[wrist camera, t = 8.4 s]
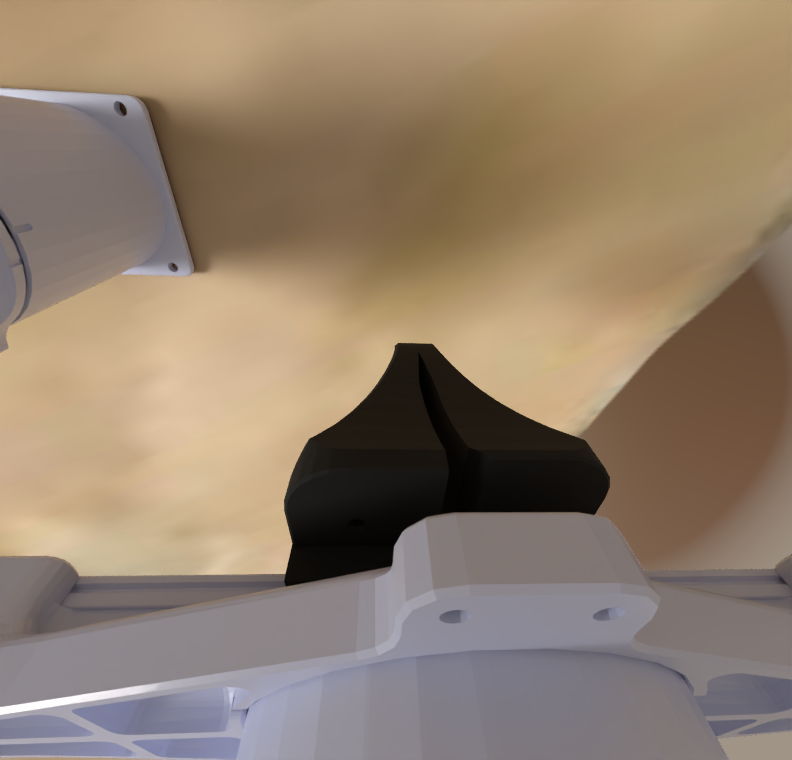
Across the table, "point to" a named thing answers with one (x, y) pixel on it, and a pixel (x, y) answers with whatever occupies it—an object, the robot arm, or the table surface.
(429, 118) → the table surface
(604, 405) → the table surface
